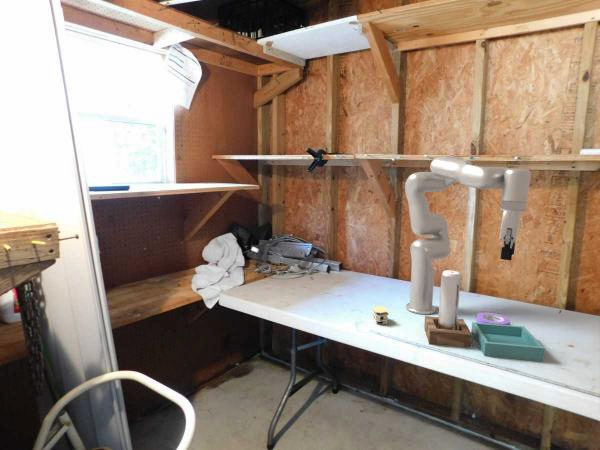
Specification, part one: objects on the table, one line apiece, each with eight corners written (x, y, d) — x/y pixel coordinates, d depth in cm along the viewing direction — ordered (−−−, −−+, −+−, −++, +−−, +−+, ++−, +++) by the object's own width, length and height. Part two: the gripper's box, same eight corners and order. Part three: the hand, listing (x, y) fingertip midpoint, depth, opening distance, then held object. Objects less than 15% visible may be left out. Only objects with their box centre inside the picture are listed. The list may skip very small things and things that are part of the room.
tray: (471, 333, 148) (472, 322, 147) (522, 337, 145) (523, 326, 144) (484, 355, 131) (485, 343, 130) (543, 361, 127) (544, 348, 127)
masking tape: (507, 324, 158) (508, 315, 158) (510, 335, 147) (511, 325, 147) (476, 319, 163) (476, 310, 162) (476, 329, 152) (477, 320, 151)
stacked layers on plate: (364, 318, 162) (365, 305, 161) (384, 317, 164) (385, 304, 163) (374, 328, 152) (374, 314, 151) (395, 326, 154) (396, 313, 153)
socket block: (424, 328, 152) (424, 316, 151) (462, 331, 150) (463, 319, 149) (429, 344, 138) (430, 330, 138) (471, 348, 136) (472, 334, 135)
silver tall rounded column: (451, 333, 147) (456, 269, 144) (458, 341, 141) (464, 274, 137) (434, 333, 147) (438, 269, 143) (441, 341, 141) (446, 274, 137)
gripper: (503, 203, 138) (497, 250, 141) (497, 207, 124) (491, 260, 127) (527, 205, 134) (521, 253, 137) (524, 210, 120) (518, 264, 123)
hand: (507, 256), depth 132 cm, fingers open, 9 cm apart
